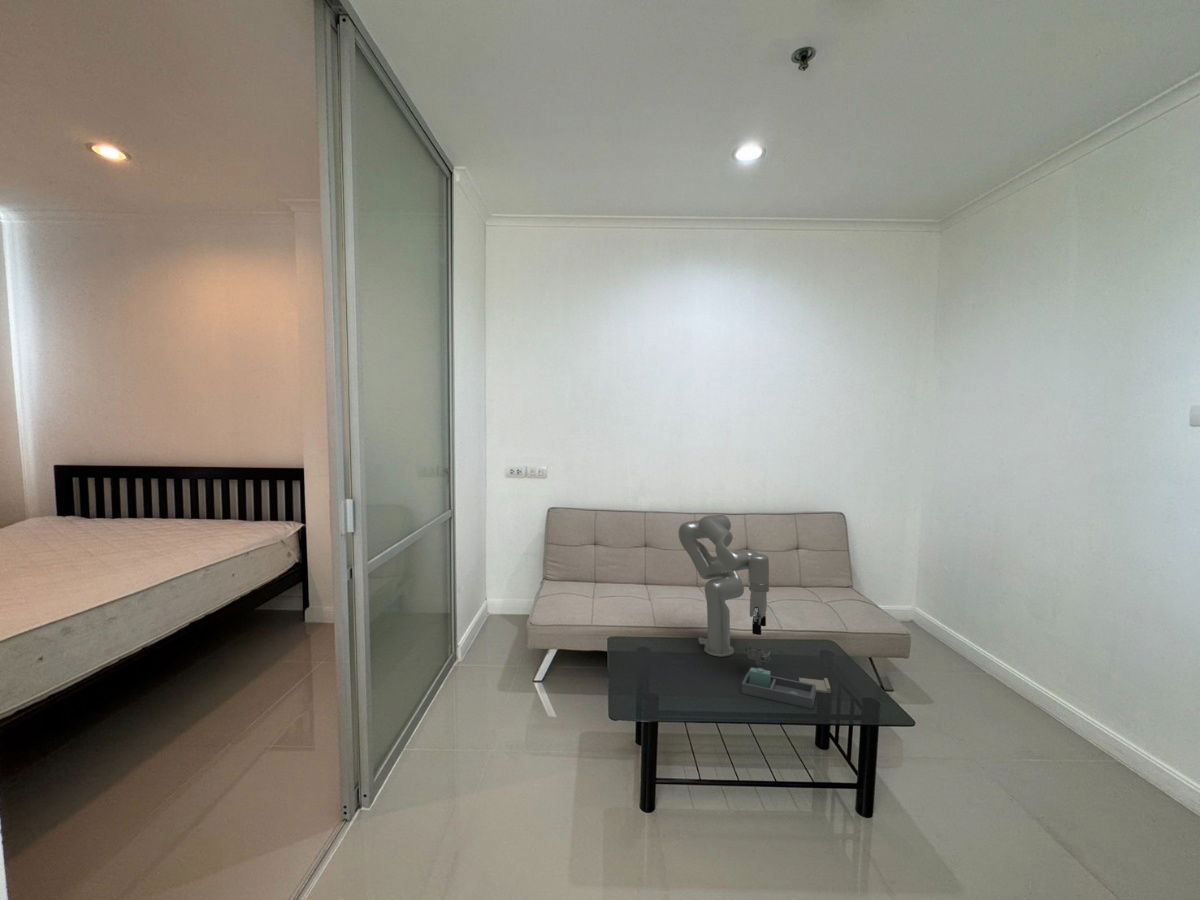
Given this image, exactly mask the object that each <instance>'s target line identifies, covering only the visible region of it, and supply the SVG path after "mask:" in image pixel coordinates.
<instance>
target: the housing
mask: <svg viewBox="0 0 1200 900" xmlns="http://www.w3.org/2000/svg"><path fill="white" fill-rule="evenodd" d="M771 672H772V671H771V670H766V669H764V668H762V667H761V668H757V667H750V669H749V670H748V671H747V673H746V674H745V676H744V678H743V680H742V682H741V694H744V695H747V696H748V695H749V696H753V697H757V698H763V699H765V700H769V701H770V700H772V701H775V702H780V703H785V704H789V705H793V706H798V707H802V708H807V709H811V710H812V709H814V706H815V705H814V704H815V699H816V695H817V693H816V685H814V684H809V683H804V682H799V680H798V681H797V680H793V679H789V678H785V677H779V676H773V675H771V674H772V673H771Z"/></svg>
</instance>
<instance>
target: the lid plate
mask: <svg viewBox="0 0 1200 900" xmlns="http://www.w3.org/2000/svg"><path fill="white" fill-rule="evenodd" d="M798 681H799V682H804V683H809V684H814V685H816V692H817V693H823V694H832V690H831V685H830V681H829V680H828V678H827V677H824V678H823V679H813V678H806V677H805V678H803V677H798Z"/></svg>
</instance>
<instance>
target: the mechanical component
mask: <svg viewBox="0 0 1200 900" xmlns="http://www.w3.org/2000/svg"><path fill="white" fill-rule="evenodd" d="M745 652H746V654H747V658H748V659H750V660H753V661H755V665H756V668H762V665H763V663H770V661H771V660H772V658H773V657H774V653H773V652H771V651H769V652H768V653H765V652H764V650H763V648H759V647H753V646H748V647H745Z"/></svg>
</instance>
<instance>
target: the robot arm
mask: <svg viewBox="0 0 1200 900" xmlns="http://www.w3.org/2000/svg"><path fill="white" fill-rule="evenodd" d="M731 526H732V523H731V520H730V519H729V517H728V516H726V515H725V514H714V515H712V514H711V515H706V516H703V517H702V518H700V519H699V520H690V521H685V522H684V523H682V524H681V525H680V526H679V528H678V539H679V541H680V545H681V546H682V547H683V549H684V550H685V551H686V553H687V555H689V558H690V559H691V561H692V563H693V565H694V567H695V569H696V571H697V573H698V575H699V576H700V578H701V579H703V580H708V581H706V583H705V584H704V585H705V586H704V594H705V599H706V611H707V612H706V615H707V616H706V619H707V624H706V625H707V626H706V627H707V637H706V638H704V637H701V636H699V637H698V639H697V640H698V643H699V644H700V645H704V647H703V650H704V652H705V653H707V654H708V655H710V656H713V657H719V658H720V657H721V658H722V657H730V656H731V655H733V654H734V647H733V646H731V630H730V629H731V628H730V627H731V622H730V621H731V620H730V619H731V618H730V617H731V615H730V609H729V607H728V605H727V603H726V601H728V600H729V601H730V600H733V599H738V598H740V597H742V596H743V595H744V591H745V587H744V584H743V580H742V578H741V577H740V576H739V574H738V572H739V571H745V570H748V591H750V597H749V617H750V618H752V622H751V624H752V626H751V627H752V628H751V630H752V632H751V633H752V635H757V636H761V635H762V627H766V626H767V615H766V614H767V609H768V606H767V604H768V599H767V593H769V592H770V566H769V565H770V563H769V561H770V560H769V557H768V556H767V555H766V554H763V553H759V552H757V551H755V550H753V549H744V550H737V551H732V550H730V549H729V548H728V547H729V546H730V545H731V543H732V541H733V539H734V538H733V534H732V532H731V531H730V530H731V528H732V527H731ZM701 539H702V540H703V539H708V540H709V541H711V542H712V543H713V544H714V545H715V554H716V556H714V555H713V556H712V555H711V554H710V552H709V550H708V549H707V547H706V545H704V544H703V543H702V542H701V541H698V540H701Z"/></svg>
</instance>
